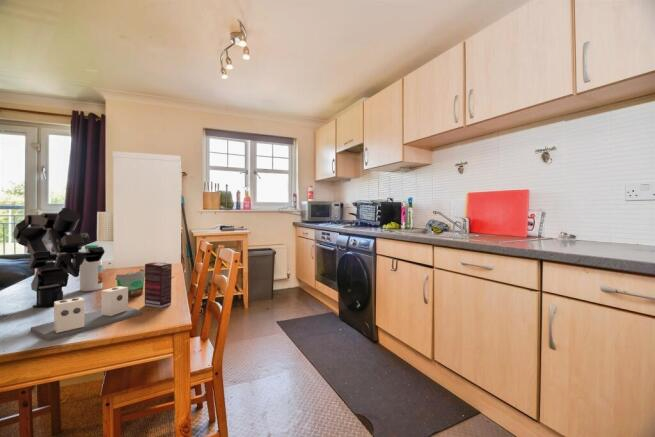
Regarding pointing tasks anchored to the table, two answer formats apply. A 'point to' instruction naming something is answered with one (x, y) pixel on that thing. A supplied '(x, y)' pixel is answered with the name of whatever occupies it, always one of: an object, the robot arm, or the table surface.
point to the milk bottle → (91, 274)
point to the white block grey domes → (68, 314)
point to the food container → (132, 283)
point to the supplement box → (158, 284)
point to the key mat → (90, 322)
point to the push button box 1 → (114, 300)
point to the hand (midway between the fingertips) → (77, 276)
